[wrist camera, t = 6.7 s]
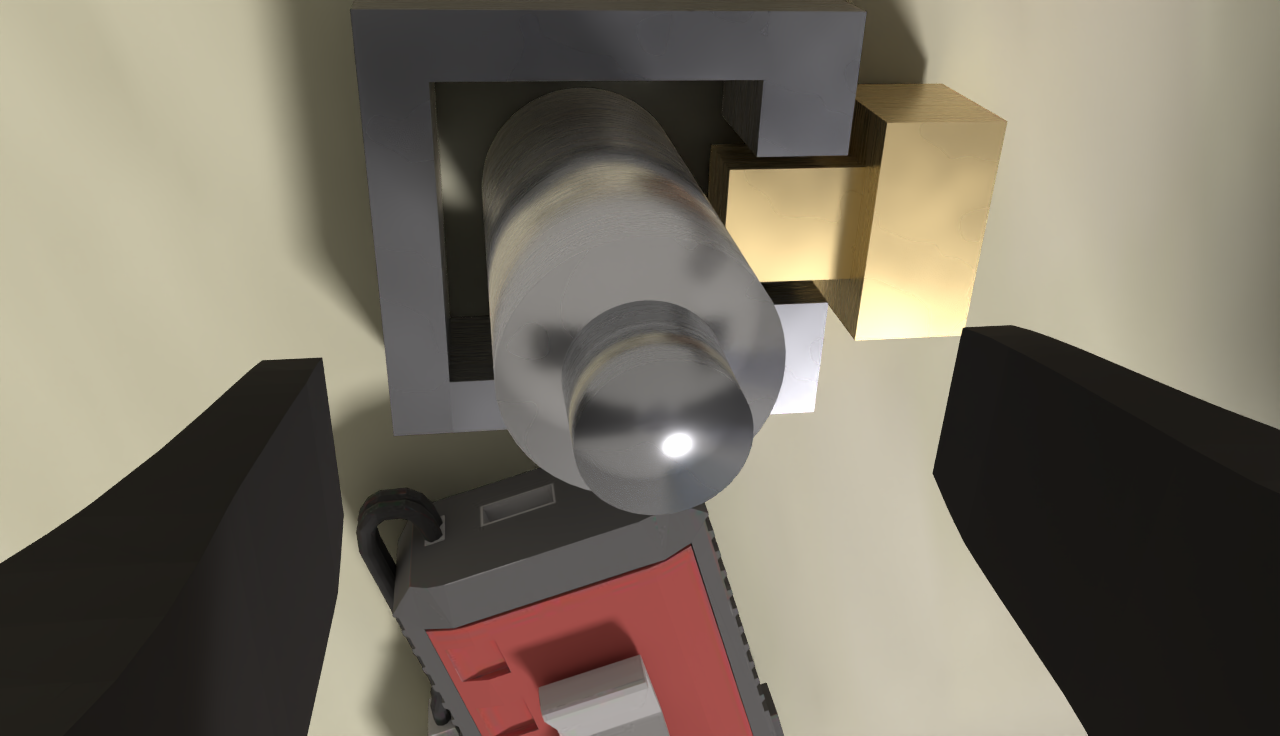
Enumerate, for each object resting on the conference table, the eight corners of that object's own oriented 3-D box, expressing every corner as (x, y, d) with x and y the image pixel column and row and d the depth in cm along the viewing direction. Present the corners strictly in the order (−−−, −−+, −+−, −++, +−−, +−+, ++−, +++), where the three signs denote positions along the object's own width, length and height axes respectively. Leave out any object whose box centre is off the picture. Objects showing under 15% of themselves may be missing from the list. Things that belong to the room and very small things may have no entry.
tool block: (815, -15, 17) (867, 11, 15) (776, 348, 21) (813, 411, 19) (364, -18, 16) (350, 8, 14) (400, 366, 20) (393, 435, 17)
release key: (942, 83, 18) (1007, 121, 16) (908, 277, 20) (963, 335, 18) (708, 84, 18) (743, 125, 15) (695, 285, 19) (725, 346, 17)
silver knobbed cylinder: (683, 87, 18) (842, 284, 11) (674, 274, 20) (804, 557, 12) (476, 88, 17) (492, 297, 10) (485, 281, 19) (504, 581, 12)
